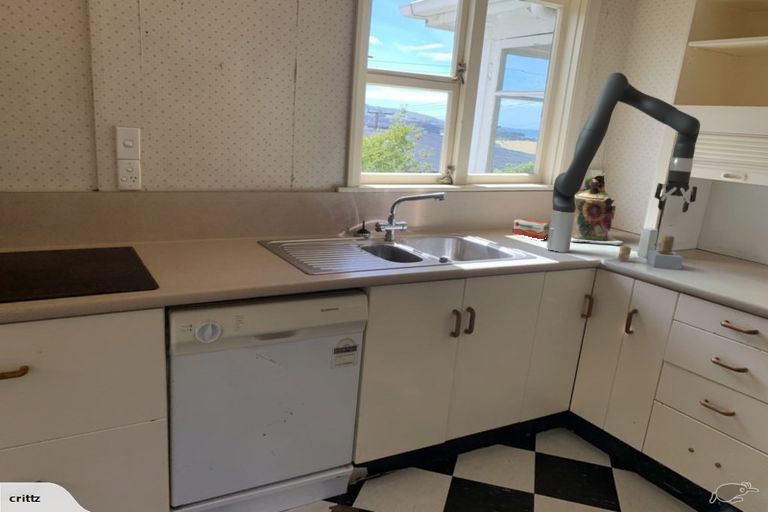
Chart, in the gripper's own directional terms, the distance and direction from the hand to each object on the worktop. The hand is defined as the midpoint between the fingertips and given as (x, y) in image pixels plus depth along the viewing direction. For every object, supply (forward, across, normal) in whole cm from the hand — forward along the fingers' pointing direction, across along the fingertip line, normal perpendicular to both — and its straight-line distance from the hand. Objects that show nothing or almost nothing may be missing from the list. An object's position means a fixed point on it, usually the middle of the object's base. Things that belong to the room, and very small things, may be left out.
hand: (672, 211), depth 215 cm
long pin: (+22, 0, 0) cm, 22 cm away
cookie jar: (+22, -22, +43) cm, 53 cm away
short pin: (+22, -14, +1) cm, 26 cm away
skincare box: (+22, -2, +15) cm, 27 cm away
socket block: (+22, +1, 0) cm, 22 cm away
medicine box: (+23, -50, +32) cm, 64 cm away
